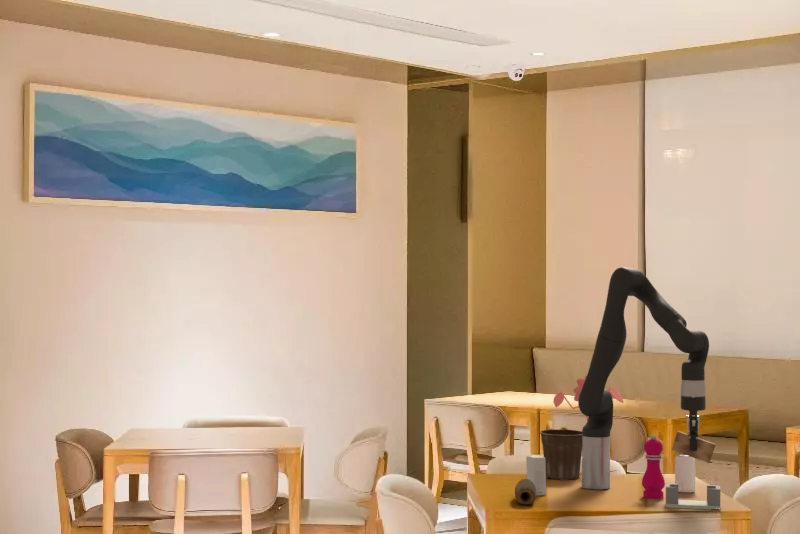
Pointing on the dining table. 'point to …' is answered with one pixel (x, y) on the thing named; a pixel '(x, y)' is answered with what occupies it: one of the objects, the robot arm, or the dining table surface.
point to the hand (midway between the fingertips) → (693, 449)
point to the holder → (711, 502)
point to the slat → (703, 447)
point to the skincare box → (537, 473)
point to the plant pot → (562, 453)
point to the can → (685, 473)
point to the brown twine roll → (525, 491)
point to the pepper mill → (653, 469)
